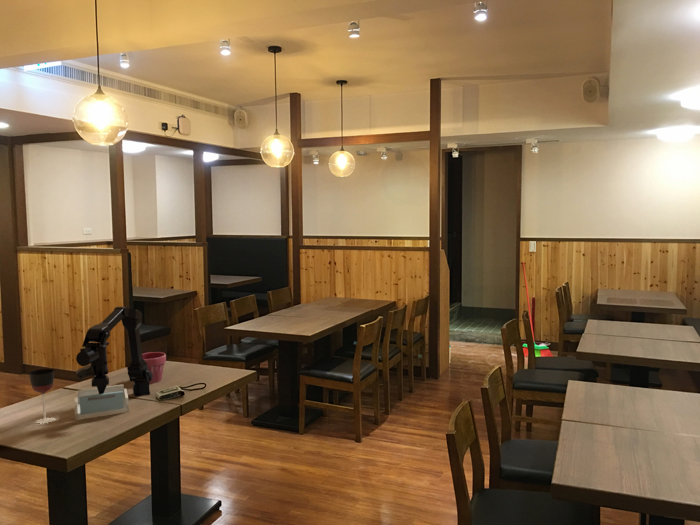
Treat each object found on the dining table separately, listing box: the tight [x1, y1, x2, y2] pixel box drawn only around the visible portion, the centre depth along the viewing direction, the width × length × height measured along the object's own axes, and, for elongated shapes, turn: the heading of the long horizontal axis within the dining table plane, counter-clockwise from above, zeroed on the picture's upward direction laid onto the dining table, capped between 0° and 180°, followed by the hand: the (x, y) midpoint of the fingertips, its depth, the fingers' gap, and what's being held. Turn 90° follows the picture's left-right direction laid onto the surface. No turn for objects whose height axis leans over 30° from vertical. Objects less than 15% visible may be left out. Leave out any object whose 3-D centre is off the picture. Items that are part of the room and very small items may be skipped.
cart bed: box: [73, 384, 130, 421], centre depth 234 cm, size 20×14×8 cm
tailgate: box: [79, 391, 124, 415], centre depth 226 cm, size 16×2×8 cm, turn 115°
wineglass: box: [28, 368, 56, 425], centre depth 223 cm, size 8×9×20 cm
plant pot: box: [142, 351, 167, 384], centre depth 275 cm, size 14×14×13 cm
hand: (101, 396), depth 226 cm, fingers closed
